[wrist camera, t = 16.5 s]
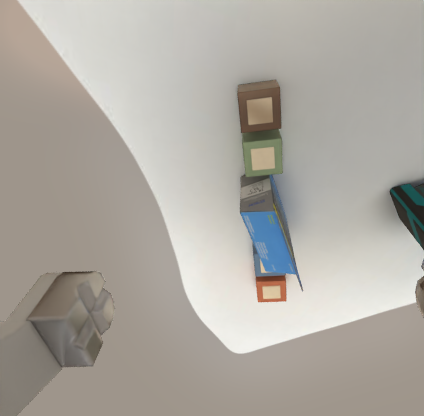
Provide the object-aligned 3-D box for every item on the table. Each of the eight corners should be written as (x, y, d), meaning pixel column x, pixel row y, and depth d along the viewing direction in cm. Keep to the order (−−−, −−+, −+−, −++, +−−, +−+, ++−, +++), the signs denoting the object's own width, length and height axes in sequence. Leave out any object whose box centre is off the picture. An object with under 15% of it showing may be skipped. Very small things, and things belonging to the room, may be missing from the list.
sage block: (242, 130, 36) (242, 143, 32) (277, 126, 35) (281, 138, 31) (245, 162, 38) (245, 177, 34) (278, 159, 37) (282, 174, 33)
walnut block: (237, 84, 33) (237, 93, 29) (276, 79, 32) (280, 87, 29) (241, 122, 35) (241, 133, 32) (277, 117, 34) (281, 129, 31)
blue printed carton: (238, 175, 39) (237, 235, 28) (269, 165, 37) (279, 223, 27) (260, 230, 43) (266, 300, 32) (288, 222, 42) (304, 292, 31)
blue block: (252, 235, 43) (253, 254, 40) (281, 233, 43) (285, 252, 39) (254, 257, 45) (255, 277, 42) (282, 255, 45) (285, 276, 41)
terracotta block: (255, 262, 46) (256, 282, 42) (282, 261, 45) (285, 281, 42) (256, 282, 48) (258, 303, 44) (283, 280, 47) (286, 302, 44)
